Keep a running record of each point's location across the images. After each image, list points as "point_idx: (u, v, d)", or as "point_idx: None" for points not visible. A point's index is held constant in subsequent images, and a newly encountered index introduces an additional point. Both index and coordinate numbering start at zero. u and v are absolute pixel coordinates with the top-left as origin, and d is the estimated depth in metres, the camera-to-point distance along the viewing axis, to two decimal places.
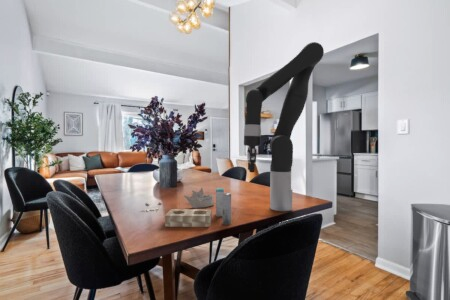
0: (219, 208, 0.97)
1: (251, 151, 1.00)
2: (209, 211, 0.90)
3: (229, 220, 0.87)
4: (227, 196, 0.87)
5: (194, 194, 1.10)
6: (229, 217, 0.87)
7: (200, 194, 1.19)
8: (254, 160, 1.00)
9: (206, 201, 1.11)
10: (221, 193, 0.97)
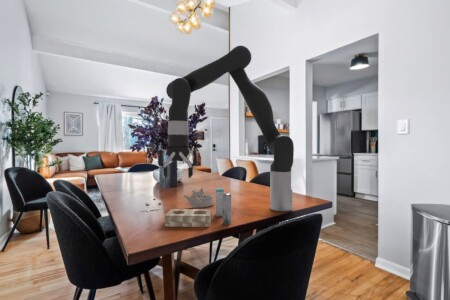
0: (219, 208, 0.97)
1: (196, 153, 0.87)
2: (209, 211, 0.90)
3: (229, 220, 0.87)
4: (227, 196, 0.87)
5: (194, 194, 1.10)
6: (229, 217, 0.87)
7: (200, 194, 1.19)
8: (197, 163, 0.89)
9: (206, 201, 1.11)
10: (221, 193, 0.97)
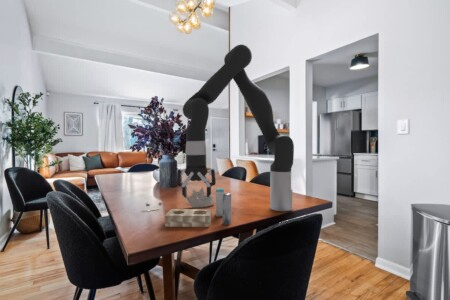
0: (219, 208, 0.97)
1: (214, 172, 0.87)
2: (209, 211, 0.90)
3: (229, 220, 0.87)
4: (227, 196, 0.87)
5: (194, 194, 1.10)
6: (229, 217, 0.87)
7: (200, 194, 1.20)
8: (215, 182, 0.89)
9: (206, 201, 1.11)
10: (220, 193, 0.97)
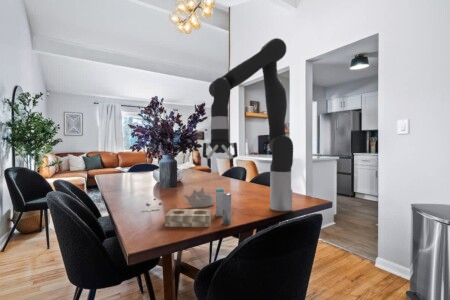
0: (219, 208, 0.97)
1: (236, 145, 0.97)
2: (209, 211, 0.90)
3: (229, 220, 0.87)
4: (227, 196, 0.87)
5: (194, 194, 1.10)
6: (229, 217, 0.87)
7: (201, 194, 1.20)
8: None
9: (206, 201, 1.11)
10: (221, 193, 0.97)
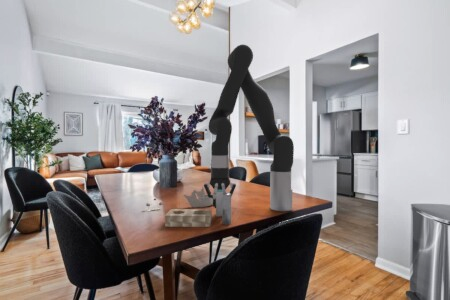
0: (219, 208, 0.97)
1: None
2: (209, 211, 0.90)
3: (229, 220, 0.87)
4: (227, 196, 0.87)
5: (193, 194, 1.11)
6: (229, 217, 0.87)
7: (201, 194, 1.20)
8: None
9: (205, 201, 1.11)
10: (221, 193, 0.97)
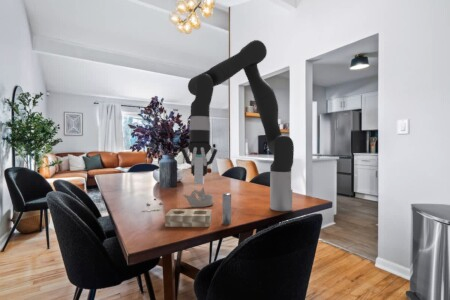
0: (198, 176, 0.87)
1: (215, 153, 0.88)
2: (209, 211, 0.90)
3: (229, 220, 0.87)
4: (227, 196, 0.87)
5: (193, 193, 1.11)
6: (229, 217, 0.87)
7: (201, 193, 1.20)
8: (211, 161, 0.89)
9: (205, 201, 1.12)
10: (200, 158, 0.87)
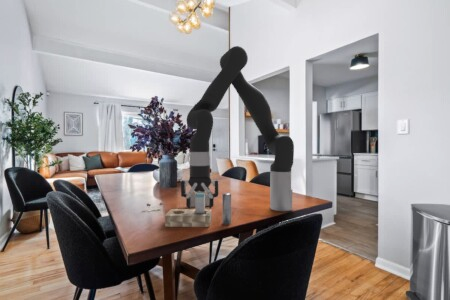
0: None
1: None
2: (209, 211, 0.90)
3: (229, 220, 0.87)
4: (227, 196, 0.87)
5: (193, 193, 1.12)
6: (229, 217, 0.87)
7: None
8: None
9: None
10: (200, 198, 0.87)
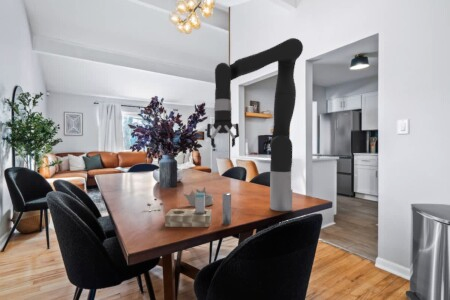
0: None
1: None
2: (209, 211, 0.90)
3: (229, 220, 0.87)
4: (227, 196, 0.87)
5: (192, 193, 1.13)
6: (229, 217, 0.87)
7: None
8: None
9: None
10: (200, 198, 0.87)
